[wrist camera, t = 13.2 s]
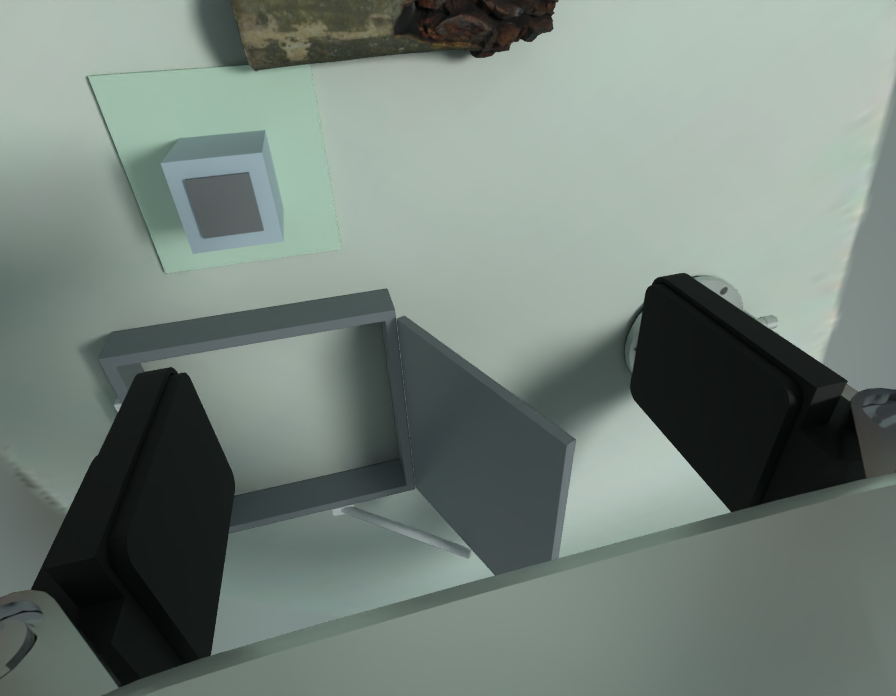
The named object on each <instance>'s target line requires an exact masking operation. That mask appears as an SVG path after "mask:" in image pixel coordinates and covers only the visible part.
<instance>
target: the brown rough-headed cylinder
mask: <svg viewBox="0 0 896 696" xmlns="http://www.w3.org/2000/svg"><path fill="white" fill-rule="evenodd" d="M558 1H559V0H231V4H232V9H233V12H234V16H235V19H236V22H237V25H238V28H239V31H240V38H241V41H242V44H243V47H244V51H245V54H246V57H247V60H248V63H249V65H250V66H251V68H252V69H253V70H254V71H255V72H257V71H259V70H265V69H272V68H280V67H288V66H297V65H306V64H313V63H322V62H334V61H342V60H351V59H359V58H368V57H377V56H386V55H395V54H406V53H416V52H428V51H437V50H470V53H471V55H473V56H474V57H476V58H485V57H489V56H492V55H493V54H494V53H495V52H501V51H508V50H509V48H510V45H511V43H513V42H518V41H519V39H522V40H524V41H526V42H532V41H533V40H534V39H535V38H536V37H537V36H538V35H540V34H542V33H545V32H551V31H552V30H553V23H552V22H553V20H552V17H551V16H552V14H554V12H553V10H554V8H555V4H556V2H558Z"/></svg>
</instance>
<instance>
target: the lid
mask: <svg viewBox="0 0 896 696" xmlns="http://www.w3.org/2000/svg"><path fill="white" fill-rule="evenodd" d="M397 327H398V336H399V345H400V354H401V363H402V371H403V380H404V389H405V398H406V407H407V415H408V424H409V433H410V442H411V451H412V460H413V468H414V477H415V486H416V488H417V489H418V490H419V492H420V493H421V494H422V495H423V496H424V497H425V498H426V499H427V500H428V502H429V503H430V504H431V505H432V506H433V507H434V508H435V509H436V510H437V512H438V513H439V514H440V515H441V516H442V517H443V518H444V519H445V520H446V522H447V523H448V524H449V525H450V526H451V527H452V528H453V529H454V530H455V532H456V533H457V534H458V535H459V536H460V537H461V538H462V539H463V540H464V542H465V543H466V544H467V545H468V546H469V547H470V548H471V549H472V550H473V552H474V553H475V554H476V555H477V556H478V557H479V558H480V559H481V560H482V562H483V563H484V564H485V565H486V566H487V567H488V568H489V569H490V570H491V572H492V573H493V574H494V575H495V576H496V575H499V574H503V573H507V572H511V571H514V570H518V569H522V568H525V567H529V566H533V565H536V564H540V563H544V562H547V561H551V560H555V559H558V557H559V551H560V544H561V537H562V530H563V523H564V517H565V510H566V503H567V496H568V489H569V483H570V476H571V469H572V462H573V455H574V449H575V442H576V439H574V438H573V437H572V436H570V435H569V434H568V433H566V432H565V431H563V430H562V429H561V428H559V427H558V426H556V425H555V424H554V423H552V422H551V421H550V420H548V419H547V418H545V417H544V416H543V415H541V414H540V413H538V412H537V411H536V410H534V409H533V408H532V407H530V406H529V405H527V404H526V403H525V402H523V401H522V400H520V399H519V398H518V397H516V396H515V395H514V394H512V393H511V392H509V391H508V390H507V389H505V388H504V387H502V386H501V385H500V384H498V383H497V382H496V381H494V380H493V379H491V378H490V377H489V376H487V375H486V374H484V373H483V372H482V371H480V370H479V369H478V368H476V367H475V366H473V365H472V364H471V363H469V362H468V361H467V360H465V359H464V358H462V357H461V356H460V355H458V354H457V353H455V352H454V351H453V350H451V349H450V348H449V347H447V346H446V345H444V344H443V343H442V342H440V341H439V340H437V339H436V338H435V337H433V336H432V335H431V334H429V333H428V332H426V331H425V330H424V329H422V328H421V327H419V326H418V325H417V324H415V323H414V322H413V321H411V320H410V319H408V318H407V317H406V316H402V317H400V318H397Z"/></svg>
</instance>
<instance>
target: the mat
mask: <svg viewBox="0 0 896 696" xmlns="http://www.w3.org/2000/svg"><path fill="white" fill-rule="evenodd" d="M88 78H89V81H90V83H91V86H92V88H93V91H94V93H95V96H96V98H97V101H98V103H99V106H100V108H101V111H102V113H103V116H104V119H105V121H106V124H107V126H108V129H109V131H110V134H111V136H112V139H113V141H114V144H115V146H116V149H117V151H118V154H119V156H120V159H121V162H122V164H123V167H124V169H125V172H126V174H127V177H128V179H129V182H130V184H131V187H132V189H133V192H134V194H135V197H136V200H137V202H138V205H139V207H140V210H141V212H142V215H143V217H144V220H145V222H146V225H147V227H148V230H149V232H150V235H151V238H152V240H153V243H154V245H155V248H156V250H157V253H158V255H159V258H160V260H161V263H162V265H163V268H164V270H165V273H166V274H167V273H174V272H181V271H188V270H196V269H203V268H210V267H217V266H224V265H231V264H238V263H245V262H252V261H260V260H267V259H274V258H281V257H288V256H295V255H302V254H309V253H317V252H324V251H331V250H338V249H342V247H341V241H340V236H339V230H338V224H337V218H336V212H335V206H334V200H333V194H332V189H331V183H330V177H329V171H328V165H327V159H326V153H325V147H324V141H323V136H322V130H321V124H320V118H319V112H318V106H317V100H316V94H315V89H314V83H313V77H312V71H311V65H310V64H306V65H297V66H288V67H280V68H272V69H265V70H259V71H257V72H255V71H254V70H253V69H252V68H251V66H250V65H237V66H222V67H207V68H193V69H178V70H164V71H149V72H134V73H120V74H105V75H91V76H88ZM260 130H266V135H267V139H268V143H269V147H270V152H271V156H272V160H273V165H274V169H275V173H276V178H277V182H278V186H279V191H280V195H281V199H282V203H283V208H284V242H277V243H270V244H262V245H255V246H248V247H241V248H233V249H226V250H219V251H211V252H204V253H197V254H193V253H192V250H191V247H190V245H189V242H188V239H187V236H186V233H185V231H184V228H183V225H182V222H181V219H180V217H179V214H178V211H177V208H176V205H175V202H174V200H173V197H172V194H171V191H170V188H169V186H168V183H167V180H166V177H165V174H164V172H163V169H162V166H161V162H162V160H163V159H164V158H165V157H166V155H167V154H168V153H169V151H170V150H171V149H172V148H173V146H174V145H175V144H176V142H177V141H178V140H179V139H180V138H187V137H198V136H208V135H218V134H229V133H239V132H250V131H260Z"/></svg>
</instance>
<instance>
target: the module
mask: <svg viewBox="0 0 896 696" xmlns="http://www.w3.org/2000/svg"><path fill="white" fill-rule="evenodd" d="M161 166H162V169H163V172H164V174H165V177H166V180H167V183H168V186H169V188H170V191H171V194H172V197H173V200H174V202H175V205H176V208H177V211H178V214H179V217H180V219H181V222H182V225H183V228H184V231H185V233H186V236H187V239H188V242H189V245H190V247H191V250H192V253H193V254H197V253H204V252H211V251H219V250H226V249H233V248H241V247H248V246H255V245H262V244H270V243H277V242H284V208H283V203H282V199H281V195H280V191H279V186H278V182H277V178H276V173H275V169H274V165H273V160H272V156H271V152H270V147H269V143H268V139H267V135H266V130H260V131H250V132H239V133H229V134H218V135H208V136H198V137H187V138H180V139H179V140H178V141H177V142H176V144H175V145H174V146H173V148H172V149H171V150H170V151H169V153H168V154H167V155H166V157H165V158H164V159H163V160H162V162H161Z"/></svg>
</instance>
